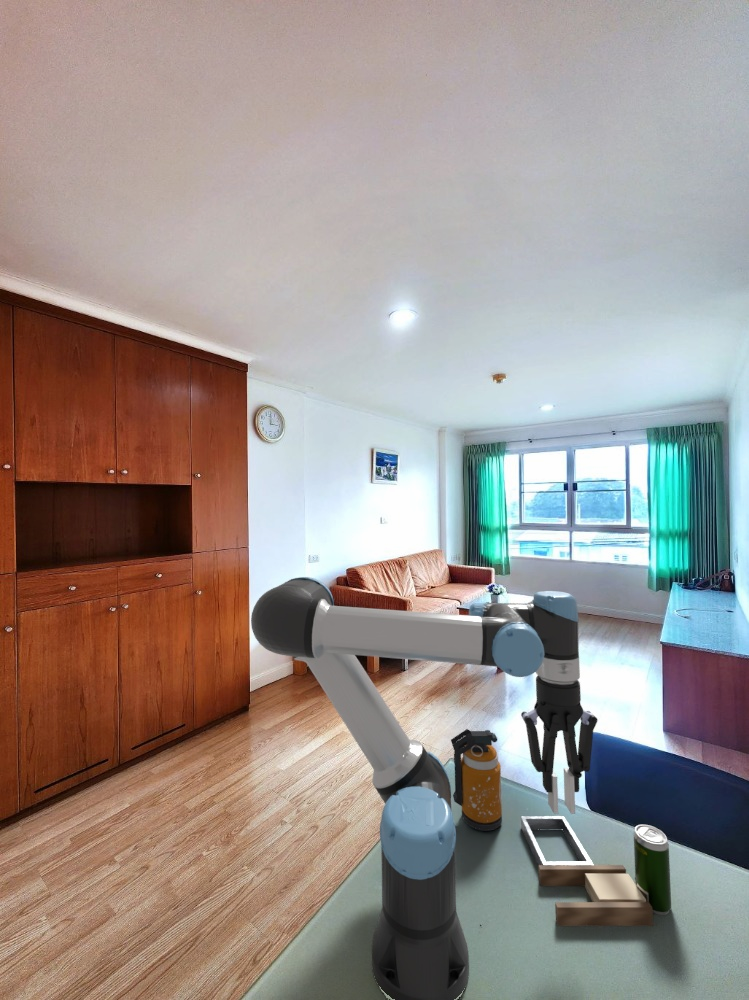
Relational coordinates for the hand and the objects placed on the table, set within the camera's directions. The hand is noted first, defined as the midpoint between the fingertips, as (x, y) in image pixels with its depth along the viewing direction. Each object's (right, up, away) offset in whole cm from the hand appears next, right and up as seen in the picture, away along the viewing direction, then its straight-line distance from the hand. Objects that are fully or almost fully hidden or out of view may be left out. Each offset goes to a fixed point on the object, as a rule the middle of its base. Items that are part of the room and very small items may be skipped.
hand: (561, 808), depth 79 cm
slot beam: (+5, -16, -1) cm, 17 cm away
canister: (-10, -18, +21) cm, 29 cm away
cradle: (+3, -17, +11) cm, 21 cm away
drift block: (+9, -17, -1) cm, 19 cm away
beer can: (+16, -16, -1) cm, 23 cm away
